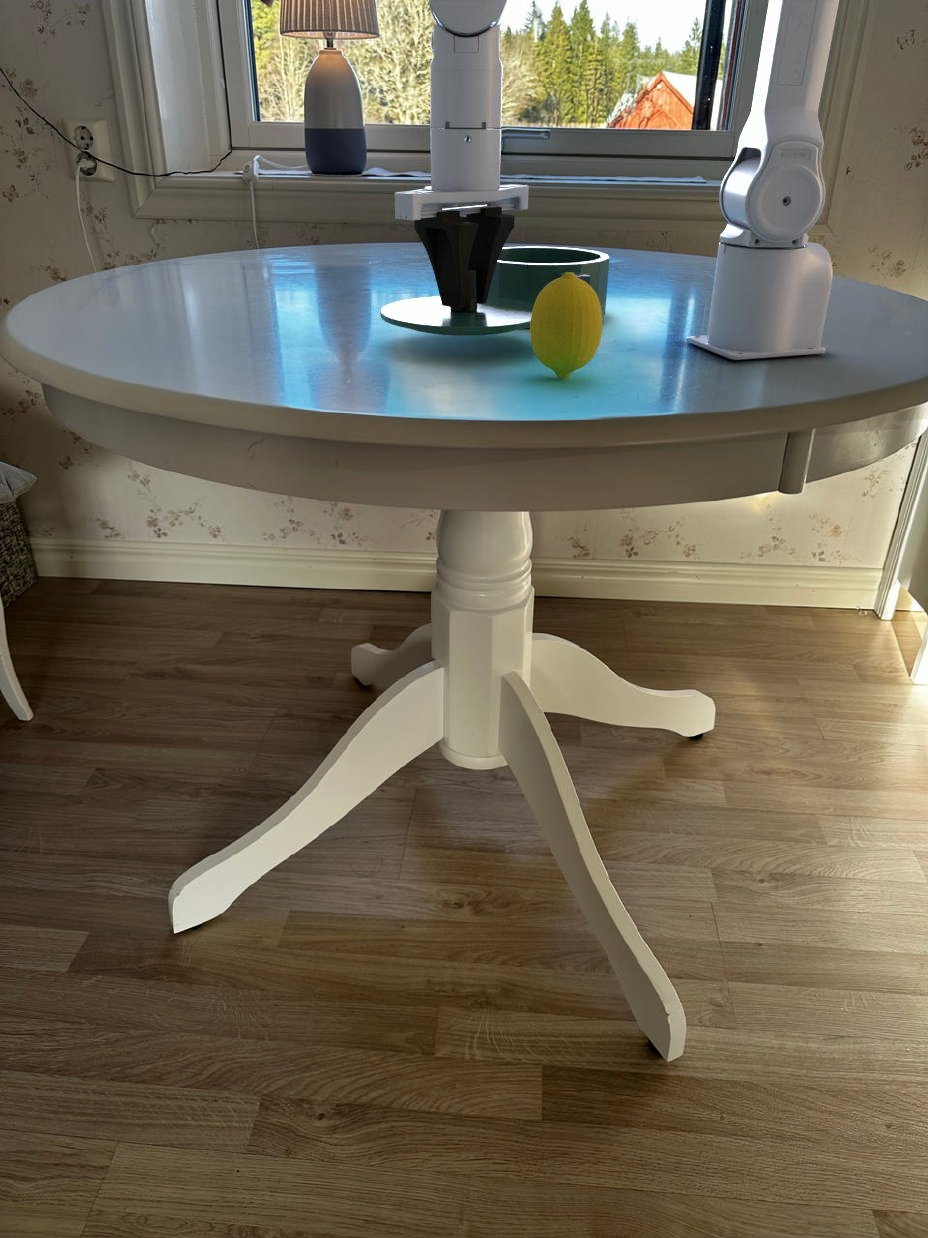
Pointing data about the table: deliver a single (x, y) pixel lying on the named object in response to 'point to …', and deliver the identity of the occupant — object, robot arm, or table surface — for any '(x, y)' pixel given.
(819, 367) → the table surface
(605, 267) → the pot
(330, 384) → the table surface
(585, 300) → the lemon
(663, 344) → the table surface
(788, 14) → the robot arm
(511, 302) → the lid
